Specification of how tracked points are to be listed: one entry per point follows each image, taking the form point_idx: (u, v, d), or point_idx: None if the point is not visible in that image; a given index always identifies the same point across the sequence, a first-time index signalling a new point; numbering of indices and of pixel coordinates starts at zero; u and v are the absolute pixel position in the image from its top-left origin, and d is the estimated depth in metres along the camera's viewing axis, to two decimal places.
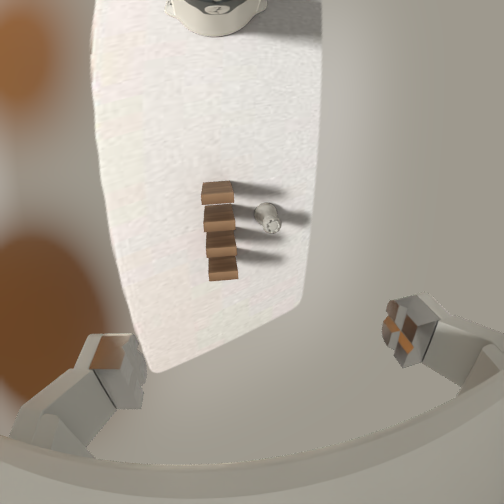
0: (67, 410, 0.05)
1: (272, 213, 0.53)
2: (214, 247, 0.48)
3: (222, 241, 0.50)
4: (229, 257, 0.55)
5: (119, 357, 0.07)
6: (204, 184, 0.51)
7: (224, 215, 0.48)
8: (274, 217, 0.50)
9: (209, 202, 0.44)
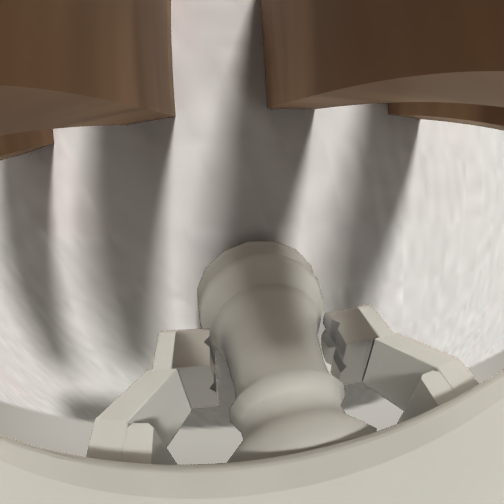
0: (150, 416, 0.05)
1: None
2: None
3: None
4: None
5: (204, 353, 0.07)
6: None
7: None
8: None
9: None
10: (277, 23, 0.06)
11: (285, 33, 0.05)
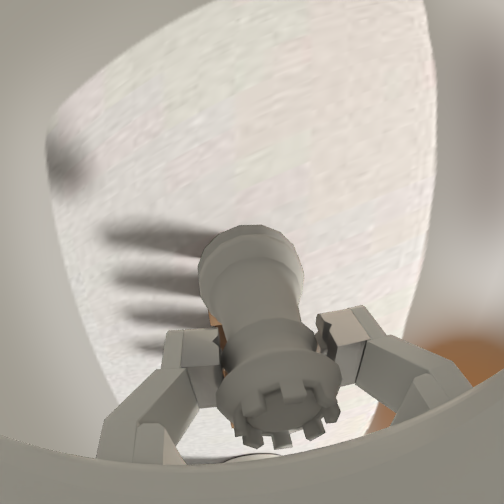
0: (160, 416, 0.06)
1: None
2: None
3: None
4: None
5: (213, 352, 0.07)
6: None
7: None
8: None
9: None
10: None
11: None
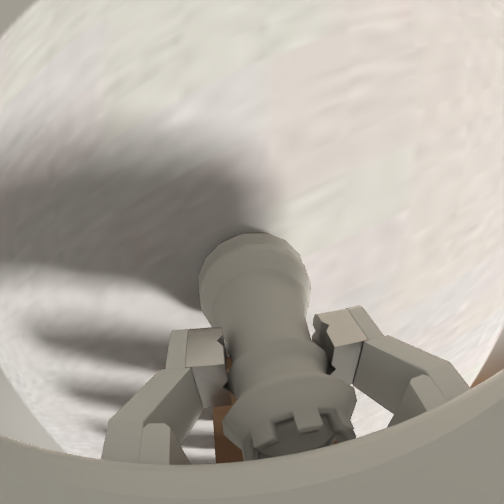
0: (165, 416, 0.06)
1: None
2: None
3: None
4: None
5: (218, 351, 0.07)
6: None
7: None
8: None
9: None
10: None
11: None
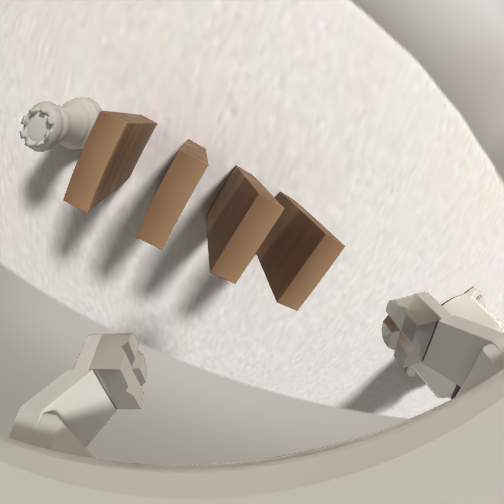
0: (67, 410, 0.05)
1: (75, 114, 0.16)
2: None
3: None
4: (121, 174, 0.18)
5: (119, 357, 0.07)
6: None
7: None
8: (52, 107, 0.13)
9: (317, 253, 0.17)
10: (220, 199, 0.22)
11: (217, 208, 0.22)
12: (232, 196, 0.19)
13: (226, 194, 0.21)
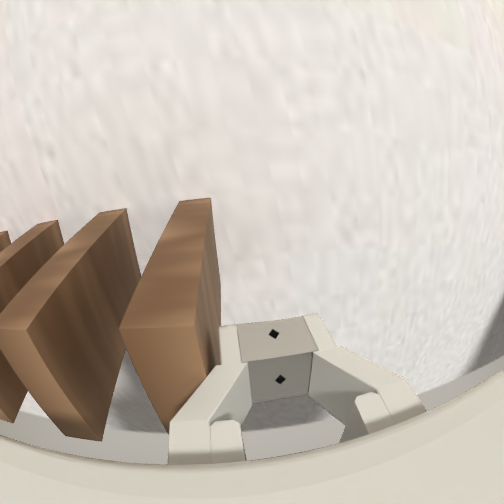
0: (225, 412, 0.06)
1: None
2: None
3: None
4: None
5: (272, 345, 0.07)
6: (209, 214, 0.13)
7: (101, 359, 0.09)
8: None
9: (147, 369, 0.06)
10: None
11: None
12: None
13: None
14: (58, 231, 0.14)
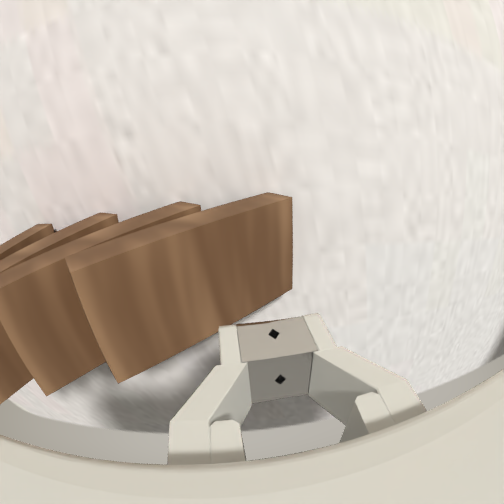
0: (224, 412, 0.06)
1: None
2: None
3: None
4: None
5: (272, 345, 0.07)
6: (264, 212, 0.13)
7: (81, 342, 0.10)
8: None
9: None
10: None
11: None
12: None
13: None
14: None
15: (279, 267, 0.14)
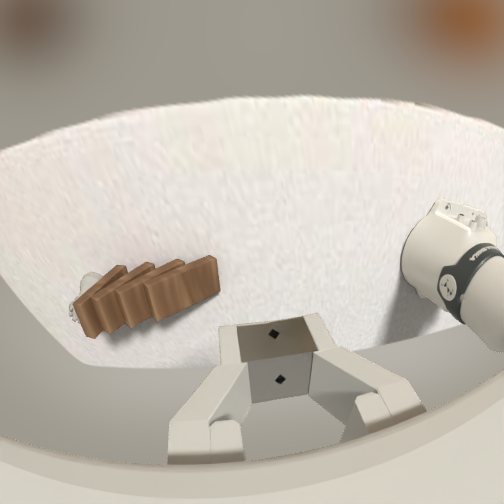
0: (225, 412, 0.06)
1: None
2: (102, 309, 0.31)
3: (118, 309, 0.33)
4: None
5: (272, 345, 0.07)
6: (205, 265, 0.37)
7: (145, 308, 0.34)
8: None
9: (145, 292, 0.33)
10: None
11: None
12: None
13: None
14: (153, 268, 0.38)
15: (213, 283, 0.39)
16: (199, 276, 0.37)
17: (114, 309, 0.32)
